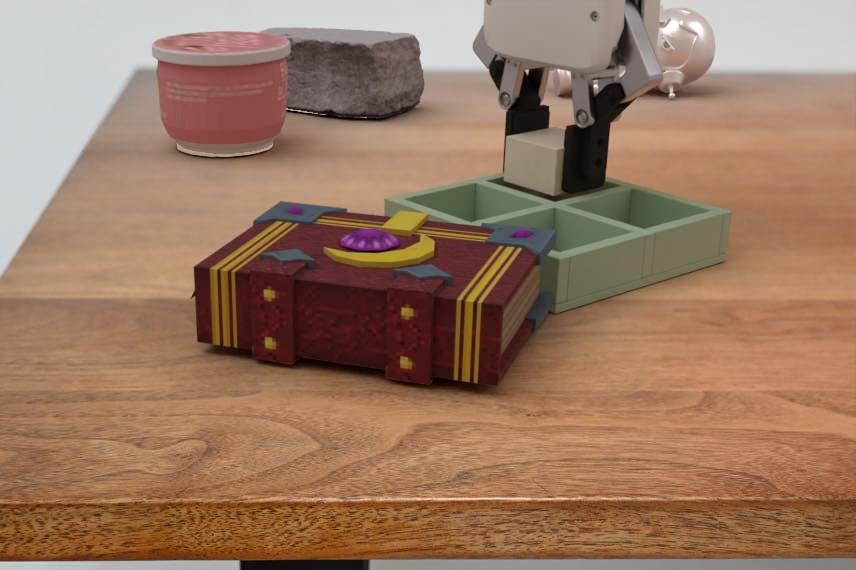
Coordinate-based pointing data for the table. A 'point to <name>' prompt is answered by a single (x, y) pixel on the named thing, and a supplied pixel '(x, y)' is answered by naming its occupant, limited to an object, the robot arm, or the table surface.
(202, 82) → the container
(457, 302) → the decorative book
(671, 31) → the figurine
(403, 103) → the decorative stone
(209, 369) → the table surface
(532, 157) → the block
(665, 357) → the table surface
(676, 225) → the grid
